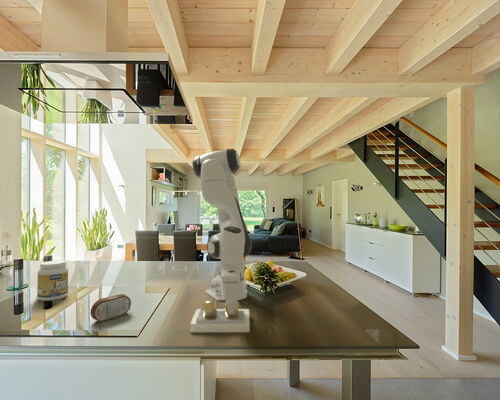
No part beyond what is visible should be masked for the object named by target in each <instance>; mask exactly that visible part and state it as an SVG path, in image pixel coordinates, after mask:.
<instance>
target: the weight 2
mask: <svg viewBox="0 0 500 400" xmlns="http://www.w3.org/2000/svg"><path fill="white" fill-rule="evenodd" d="M239 301H240V300H237V301H236V304H234V313H233V314H230V313H229V306H228V305H227V304H226V303H224V304H225V305H224V309H225V316H226V317H228V318H235V317H238V316H239V309H240V307H239V305H240V302H239Z"/></svg>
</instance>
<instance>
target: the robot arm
mask: <svg viewBox="0 0 500 400" xmlns="http://www.w3.org/2000/svg"><path fill="white" fill-rule="evenodd" d="M240 165H241V158H240V154H238V152H237V150H236V149H234V148H227V149H219V150H215V151H212V152H209V153H205V154H201V155H197V156H196V157H194V158H193V160H192V169H193V172H194V175H195V176H197V177H198V178H199V179H200V189H201V195H202V197H203V200H204V201H205V202H206V203H208V204H209V205H210V206H213V207H215V208H217V218H218V224H219V231H220V232H219V233H216V234H214V235H213V234H212V235H211V236H210V237H209V239H208V240H207V243H206V244H207V245H206V249H207V251H206V252H207V253H208V255H209V256H210V257H211V258H213V259H219V260H220V262H219V263H220V265H219V268H218V271H219V272H218V274H217V276H216V277H214V278H213V279H212V280H211V281H210V285H209V286H210V287H209V288H208V289H206V290H205V294H206V295H208V296H210V297H211V298H212V299H215V300H216V302H219V301H220V302H221V301H224V302H225V303H226V304H227V305H228V306H229V313H230V314H233V313H234V304H236V301H237V300H238V301H241V300H245V299H246V298H247V297H248V290H247V284H246V283H247V282H246V277H245V274H246V269H245V268H246V267H245V260H244V259H245V258H246V257H247V256H248V255H249V254H250V252H251V250H252V247H253V242H252V239H251V237H250V235H249V233H248V226H247V224H246V222H245V220H244V216H243V213H242V211H241V207H240V199H239V194H238V190H237V189H238V188H237V185H236V179H235V177H234V175H235V174H236V172H237V171H238V170H239V168H240ZM225 303H224V304H225Z"/></svg>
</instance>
